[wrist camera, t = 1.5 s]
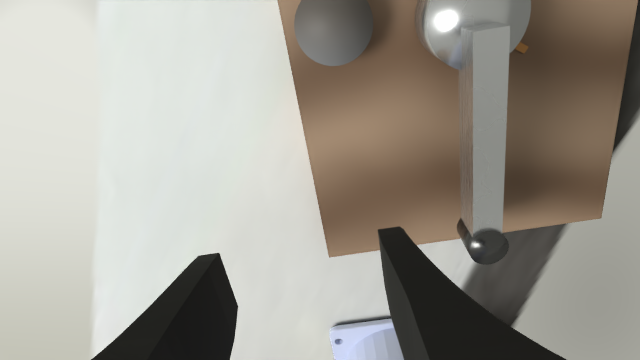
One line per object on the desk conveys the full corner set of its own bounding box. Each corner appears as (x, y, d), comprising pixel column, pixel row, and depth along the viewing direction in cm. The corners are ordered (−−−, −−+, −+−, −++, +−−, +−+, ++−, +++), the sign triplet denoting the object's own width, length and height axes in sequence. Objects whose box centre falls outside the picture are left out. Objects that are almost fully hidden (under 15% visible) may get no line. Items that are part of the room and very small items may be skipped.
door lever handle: (499, 215, 20) (531, 258, 17) (427, 226, 20) (446, 270, 17) (508, -47, 15) (557, -53, 12) (411, -29, 15) (435, -29, 12)
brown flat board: (587, 206, 22) (619, 234, 19) (328, 243, 23) (329, 274, 20) (654, -250, 14) (723, -296, 11) (248, -161, 15) (235, -187, 12)
